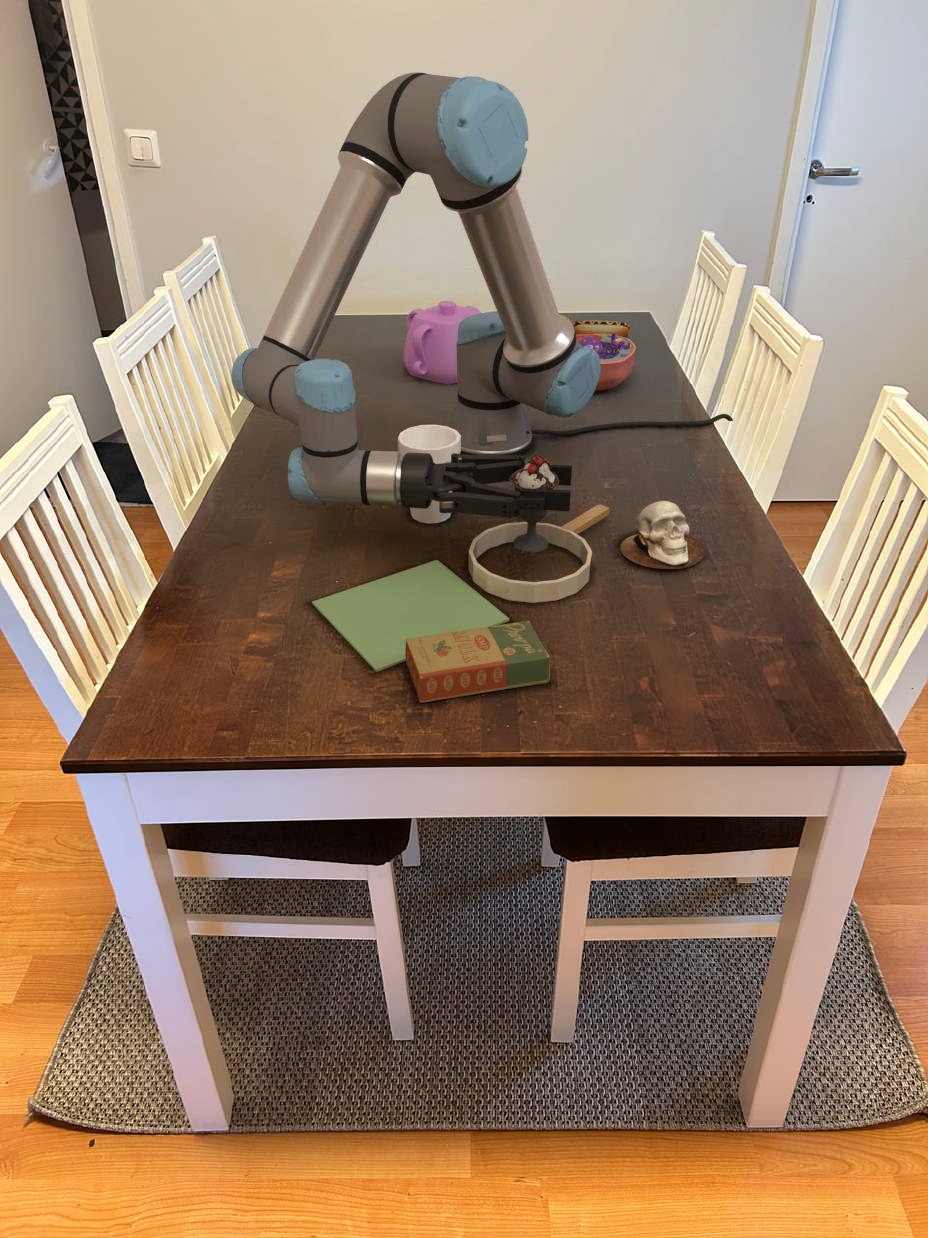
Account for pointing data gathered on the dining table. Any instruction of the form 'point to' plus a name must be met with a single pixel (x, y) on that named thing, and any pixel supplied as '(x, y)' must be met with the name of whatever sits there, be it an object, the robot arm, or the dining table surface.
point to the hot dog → (601, 327)
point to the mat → (405, 611)
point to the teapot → (435, 341)
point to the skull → (662, 539)
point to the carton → (476, 661)
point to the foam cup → (440, 447)
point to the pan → (554, 535)
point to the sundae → (534, 478)
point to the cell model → (611, 357)
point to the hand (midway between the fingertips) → (570, 487)
